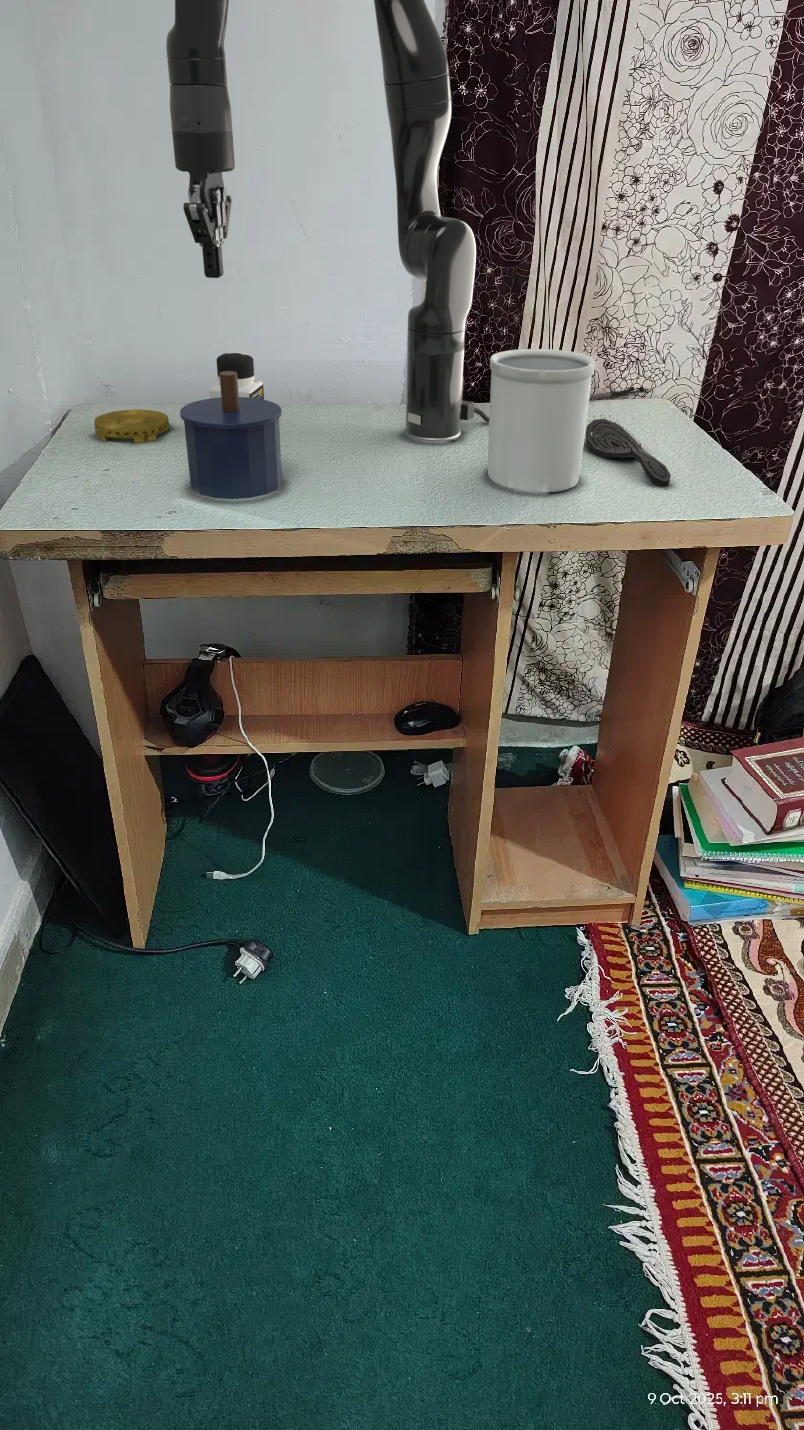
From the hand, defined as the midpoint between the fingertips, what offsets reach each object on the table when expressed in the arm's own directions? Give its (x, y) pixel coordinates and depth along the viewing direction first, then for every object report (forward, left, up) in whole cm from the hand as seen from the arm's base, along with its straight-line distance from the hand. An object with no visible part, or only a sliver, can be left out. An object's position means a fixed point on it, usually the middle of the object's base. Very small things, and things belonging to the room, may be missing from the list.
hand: (214, 276), depth 133 cm
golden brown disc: (-8, -27, -28) cm, 39 cm away
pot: (+4, +4, -28) cm, 28 cm away
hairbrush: (-40, +49, -28) cm, 69 cm away
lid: (+4, +4, -17) cm, 18 cm away
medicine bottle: (-20, -14, -28) cm, 37 cm away
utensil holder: (-23, +39, -28) cm, 53 cm away
